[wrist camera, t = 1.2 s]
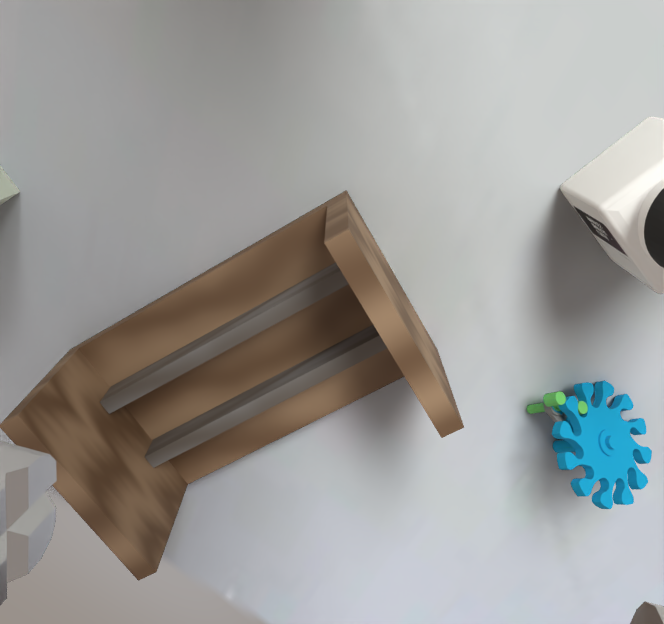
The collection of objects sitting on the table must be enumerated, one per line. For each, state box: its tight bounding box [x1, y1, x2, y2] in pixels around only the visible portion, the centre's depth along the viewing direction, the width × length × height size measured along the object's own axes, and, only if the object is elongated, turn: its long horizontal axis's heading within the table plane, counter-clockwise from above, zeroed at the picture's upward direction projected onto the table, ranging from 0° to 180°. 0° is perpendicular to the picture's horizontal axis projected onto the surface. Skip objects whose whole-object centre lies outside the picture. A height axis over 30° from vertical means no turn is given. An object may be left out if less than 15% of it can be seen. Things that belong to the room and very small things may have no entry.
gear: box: [527, 381, 652, 509], centre depth 51 cm, size 11×6×10 cm
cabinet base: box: [0, 191, 464, 580], centre depth 45 cm, size 15×26×12 cm, turn 120°
